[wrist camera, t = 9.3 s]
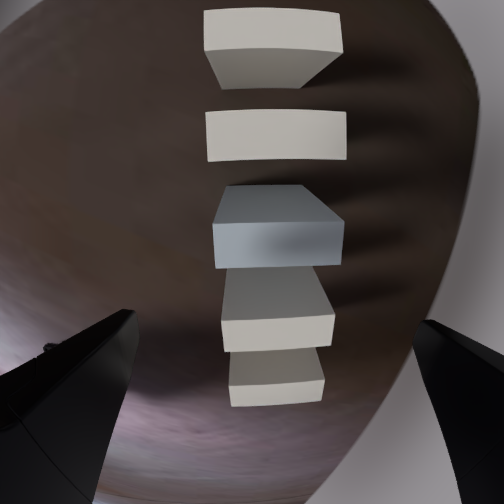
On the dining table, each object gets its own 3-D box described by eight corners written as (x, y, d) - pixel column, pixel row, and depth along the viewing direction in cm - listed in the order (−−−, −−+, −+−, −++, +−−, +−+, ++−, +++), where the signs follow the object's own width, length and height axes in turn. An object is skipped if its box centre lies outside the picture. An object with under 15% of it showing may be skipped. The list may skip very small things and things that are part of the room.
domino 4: (300, 266, 22) (330, 345, 13) (231, 269, 22) (224, 351, 13) (300, 243, 21) (335, 314, 13) (229, 246, 21) (221, 320, 12)
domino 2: (301, 149, 18) (346, 159, 10) (224, 151, 18) (208, 161, 10) (300, 123, 18) (346, 112, 9) (223, 124, 18) (205, 112, 9)
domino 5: (297, 314, 23) (321, 400, 15) (234, 317, 23) (231, 406, 15) (298, 295, 22) (324, 379, 14) (233, 298, 22) (228, 385, 14)
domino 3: (301, 210, 20) (340, 264, 12) (227, 212, 20) (215, 268, 12) (301, 184, 19) (344, 221, 11) (226, 185, 19) (212, 223, 11)
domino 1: (299, 88, 17) (343, 53, 9) (222, 89, 17) (204, 51, 8) (298, 63, 16) (338, 13, 8) (221, 64, 16) (203, 10, 8)
